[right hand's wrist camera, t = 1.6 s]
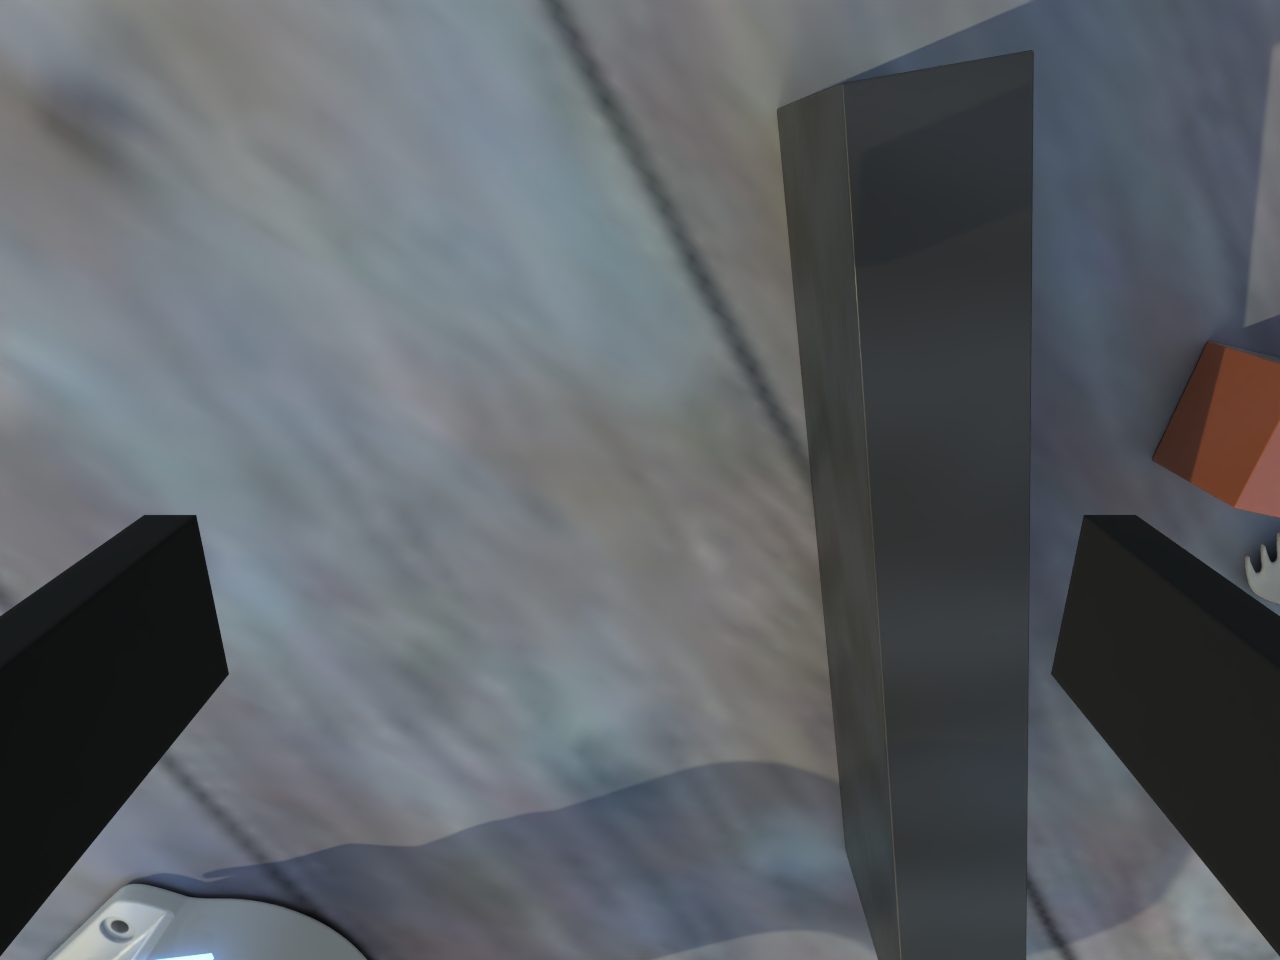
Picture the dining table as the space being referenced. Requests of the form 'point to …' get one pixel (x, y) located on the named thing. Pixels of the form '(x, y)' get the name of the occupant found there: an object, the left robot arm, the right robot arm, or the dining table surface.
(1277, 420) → the terracotta block
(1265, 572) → the fork
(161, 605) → the right robot arm
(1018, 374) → the bar
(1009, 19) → the dining table surface
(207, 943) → the left robot arm
